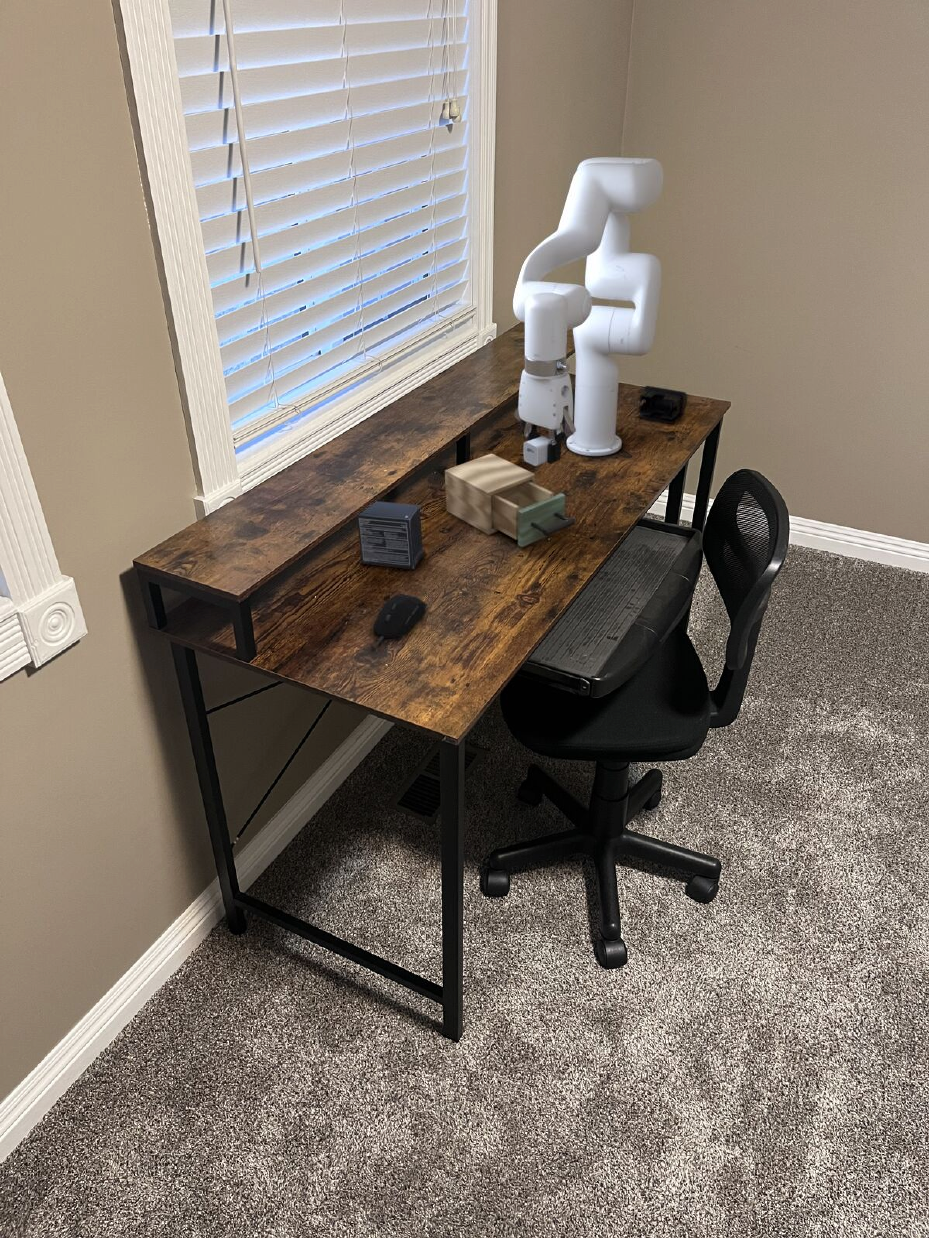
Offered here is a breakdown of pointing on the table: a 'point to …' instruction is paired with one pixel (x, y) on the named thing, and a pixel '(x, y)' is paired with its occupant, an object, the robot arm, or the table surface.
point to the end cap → (662, 404)
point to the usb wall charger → (536, 450)
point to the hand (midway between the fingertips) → (543, 457)
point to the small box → (390, 535)
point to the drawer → (528, 512)
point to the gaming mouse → (398, 616)
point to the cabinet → (480, 488)
